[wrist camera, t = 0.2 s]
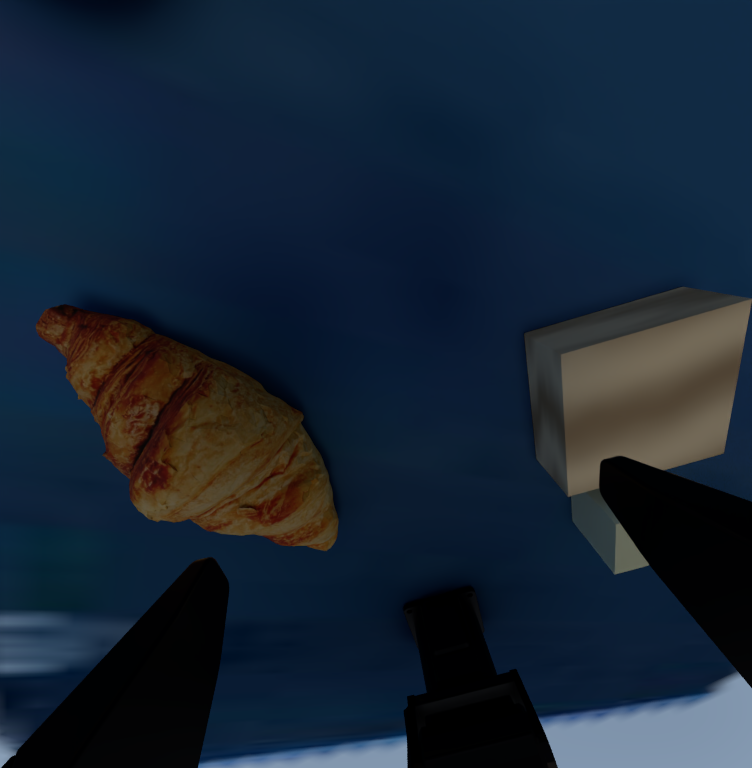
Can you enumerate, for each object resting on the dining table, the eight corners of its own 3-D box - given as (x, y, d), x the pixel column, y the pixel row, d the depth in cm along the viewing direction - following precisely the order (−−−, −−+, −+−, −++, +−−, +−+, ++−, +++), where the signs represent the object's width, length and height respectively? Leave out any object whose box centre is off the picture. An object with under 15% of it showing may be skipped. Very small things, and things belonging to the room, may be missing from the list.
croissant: (360, 472, 30) (413, 512, 22) (273, 575, 27) (303, 657, 20) (139, 264, 21) (113, 224, 14) (-18, 385, 18) (-146, 409, 11)
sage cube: (630, 503, 29) (684, 555, 24) (571, 520, 29) (614, 574, 25) (633, 456, 27) (692, 503, 22) (569, 474, 27) (615, 524, 23)
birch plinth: (669, 421, 26) (723, 453, 22) (536, 458, 26) (568, 496, 22) (682, 286, 22) (752, 298, 18) (523, 333, 22) (560, 354, 18)
